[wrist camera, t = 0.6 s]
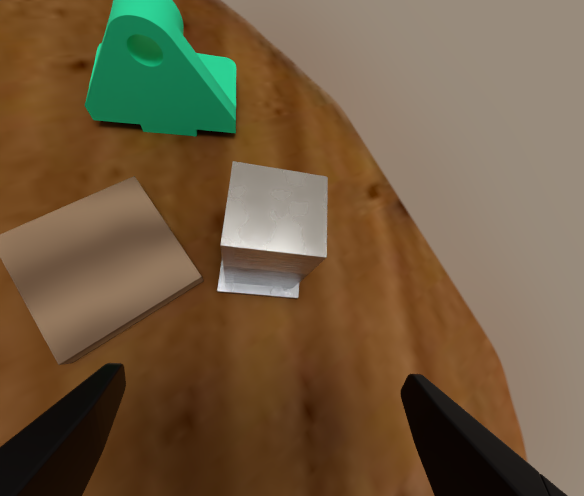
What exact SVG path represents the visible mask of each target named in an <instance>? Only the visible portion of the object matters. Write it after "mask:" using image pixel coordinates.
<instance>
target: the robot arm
mask: <svg viewBox="0 0 584 496" xmlns="http://www.w3.org/2000/svg"><path fill="white" fill-rule="evenodd" d="M125 386H126V381H125V372H124V366H123V364H121V363H108V364H105V365H104V366H103V367H101V368H100V369H99V370H97V371H96V372H95V373H94V374H92V375H91V376H90V377H89V378H87V379H86V380H85V381H83V382H82V383H81V384H80V385H78V386H77V387H76V388H75V389H73V390H72V391H71V392H70V393H68V394H67V395H66V396H64V397H63V398H62V399H61V400H59V401H58V402H57V403H56V404H54V405H53V406H52V407H51V408H49V409H48V410H47V411H45V412H44V413H43V414H42V415H40V416H39V417H38V418H37V419H35V420H34V421H33V422H31V423H30V424H29V425H28V426H26V427H25V428H24V429H23V430H21V431H20V432H19V433H18V434H16V435H15V436H14V437H12V438H11V439H10V440H9V441H7V442H6V443H5V444H4V445H2V446H1V447H0V496H82V495H83V493H84V490H85V488H86V486H87V484H88V482H89V480H90V478H91V476H92V473H93V471H94V469H95V467H96V465H97V463H98V461H99V458H100V456H101V454H102V452H103V449H104V447H105V444H106V441H107V438H108V436H109V433H110V430H111V427H112V425H113V422H114V419H115V416H116V413H117V411H118V408H119V405H120V402H121V399H122V397H123V394H124V391H125ZM401 399H402V402H403V406H404V409H405V413H406V416H407V419H408V423H409V426H410V430H411V433H412V436H413V440H414V443H415V446H416V449H417V451H418V454H419V457H420V459H421V462H422V464H423V467H424V470H425V472H426V475H427V477H428V480H429V482H430V485H431V488H432V490H433V493H434V495H435V496H567V495H566V494H565V493H563V492H562V491H561V490H560V489H558V488H557V487H556V486H555V485H554V484H553V483H551V482H550V481H549V480H548V479H547V478H545V477H544V476H543V475H541V474H539V472H538V471H537V470H536V469H535V468H533V467H532V466H531V465H530V464H529V463H527V462H526V461H525V460H524V459H523V458H521V457H520V456H519V455H518V454H517V453H515V452H514V451H513V450H512V449H511V448H509V447H508V446H507V445H506V444H505V443H503V442H502V441H501V440H500V439H499V438H497V437H496V436H495V435H494V434H493V433H491V432H490V431H489V430H488V429H487V428H485V427H484V426H483V425H482V424H481V423H479V422H478V421H477V420H476V419H475V418H473V417H472V416H471V415H470V414H469V413H467V412H466V411H465V410H464V409H463V408H461V407H460V406H459V405H458V404H457V403H455V402H454V401H453V400H452V399H451V398H449V397H448V396H447V395H446V394H445V393H443V392H442V391H441V390H440V389H439V388H437V387H436V386H435V385H434V384H433V383H431V382H430V381H429V380H428V379H427V378H425V377H424V376H423V375H421V374H409V375H408V376H407V378H406V380H405V383H404V385H403V387H402V389H401Z"/></svg>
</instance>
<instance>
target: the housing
mask: <svg viewBox="0 0 584 496" xmlns="http://www.w3.org/2000/svg"><path fill="white" fill-rule="evenodd" d="M221 252H222V262H221V269H220V276H219V283H218V290H217V291H218V292H222V293H233V294H245V295H257V296H268V297H280V298H292V299H297V298H298V294H299V282H300V281H301V280H302V279H304V278H305V277H306V276H307V275H308V274H309V273H310V272H311V271H312V270H313V269H315V268H316V267H317V266H318V265H319V264H320V263H321V262H322V261H323V260H324V259H325V258H327V177H325V176H319V175H313V174H307V173H301V172H295V171H289V170H283V169H277V168H271V167H265V166H259V165H253V164H247V163H241V162H235V161H233V165H232V172H231V178H230V185H229V192H228V199H227V205H226V212H225V219H224V226H223V233H222V239H221Z"/></svg>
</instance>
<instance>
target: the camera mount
mask: <svg viewBox="0 0 584 496" xmlns="http://www.w3.org/2000/svg"><path fill="white" fill-rule="evenodd" d="M85 107H86V109H87V110H88V112H89V114H90V115H91V117H92V118H93V120H98V121H109V122H120V123H131V124H140V125H141V127H142V130H143V132H153V133H165V134H176V135H188V136H197V130H207V131H218V132H228V133H236V64H235V63H234V62H233V61H232V60H231V59H229V58H226V57H219V56H212V55H206V54H199V53H195V51H194V50H193V48H192V47H191V46H190V44H189V43H188V42H187V40H186V39H185V37H184V36H183V21H182V17H181V14H180V12H179V10H178V8H177V6H176V5H175V3H174V2H173V1H172V0H113V4H112V9H111V13H110V17H109V20H108V24H107V27H106V31H105V34H104V38H103V41H102V43H101V44H100V45H99V46H98V49H97V54H96V58H95V62H94V67H93V71H92V76H91V80H90V85H89V89H88V94H87V98H86V103H85Z"/></svg>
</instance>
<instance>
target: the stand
mask: <svg viewBox="0 0 584 496" xmlns="http://www.w3.org/2000/svg"><path fill="white" fill-rule="evenodd" d="M0 258H1V259H2V261H3V263H4V265H5V267H6V269H7V270H8V272H9V274H10V276H11V278H12V280H13V282H14V283H15V285H16V287H17V289H18V291H19V293H20V294H21V296H22V298H23V300H24V302H25V304H26V305H27V307H28V309H29V311H30V313H31V315H32V317H33V318H34V320H35V322H36V324H37V326H38V328H39V329H40V331H41V333H42V335H43V337H44V339H45V340H46V342H47V344H48V346H49V348H50V350H51V352H52V353H53V355H54V357H55V359H56V361H57V363H58V364H59V365H61V364H69V363H73V362H74V361H76V360H77V359H79V358H81V357H82V356H84V355H85V354H87V353H89V352H90V351H92V350H94V349H95V348H97V347H98V346H100V345H102V344H103V343H105V342H106V341H108V340H110V339H111V338H113V337H114V336H116V335H118V334H119V333H121V332H122V331H124V330H126V329H127V328H129V327H130V326H132V325H134V324H135V323H137V322H138V321H140V320H142V319H143V318H145V317H146V316H148V315H150V314H151V313H153V312H154V311H156V310H158V309H159V308H161V307H162V306H164V305H166V304H167V303H169V302H170V301H172V300H174V299H175V298H177V297H178V296H180V295H182V294H183V293H185V292H186V291H188V290H190V289H191V288H193V287H194V286H196V285H198V284H199V283H201V282H202V281H203V279H202V277H201V275H200V274H199V272H198V271H197V269H196V268H195V266H194V265H193V263H192V262H191V260H190V259H189V257H188V256H187V254H186V253H185V251H184V250H183V248H182V247H181V245H180V244H179V242H178V241H177V239H176V238H175V236H174V235H173V233H172V232H171V230H170V229H169V227H168V226H167V224H166V223H165V221H164V220H163V218H162V217H161V215H160V214H159V212H158V211H157V209H156V208H155V206H154V205H153V203H152V202H151V200H150V199H149V197H148V196H147V194H146V193H145V191H144V190H143V188H142V187H141V185H140V184H139V182H138V181H137V179H136V178H135V176H134V177H131V178H129V179H127V180H124V181H122V182H120V183H118V184H115V185H113V186H111V187H108V188H106V189H104V190H101V191H99V192H97V193H95V194H92V195H90V196H88V197H85V198H83V199H81V200H79V201H76V202H74V203H72V204H69V205H67V206H65V207H62V208H60V209H58V210H56V211H53V212H51V213H49V214H46V215H44V216H42V217H39V218H37V219H35V220H33V221H30V222H28V223H26V224H23V225H21V226H19V227H17V228H14V229H12V230H10V231H7V232H5V233H3V234H0Z"/></svg>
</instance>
